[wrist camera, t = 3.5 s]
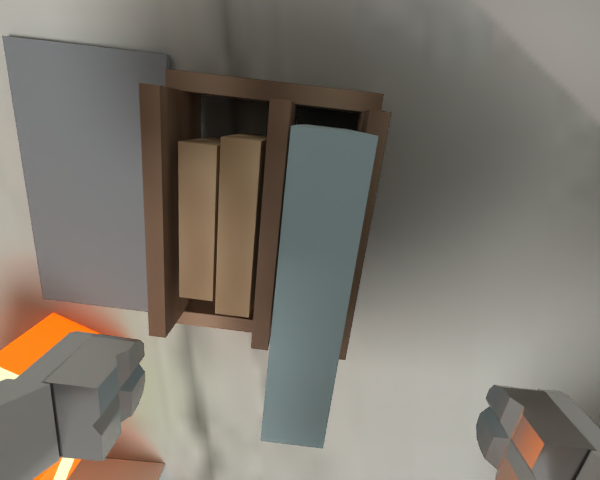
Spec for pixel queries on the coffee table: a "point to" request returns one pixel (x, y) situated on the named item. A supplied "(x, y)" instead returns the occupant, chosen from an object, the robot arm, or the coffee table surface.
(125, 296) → the mat
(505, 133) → the coffee table surface
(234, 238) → the offcut
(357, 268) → the rack
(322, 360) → the light blue slab
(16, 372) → the orange juice
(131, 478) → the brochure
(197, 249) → the offcut
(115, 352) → the robot arm
